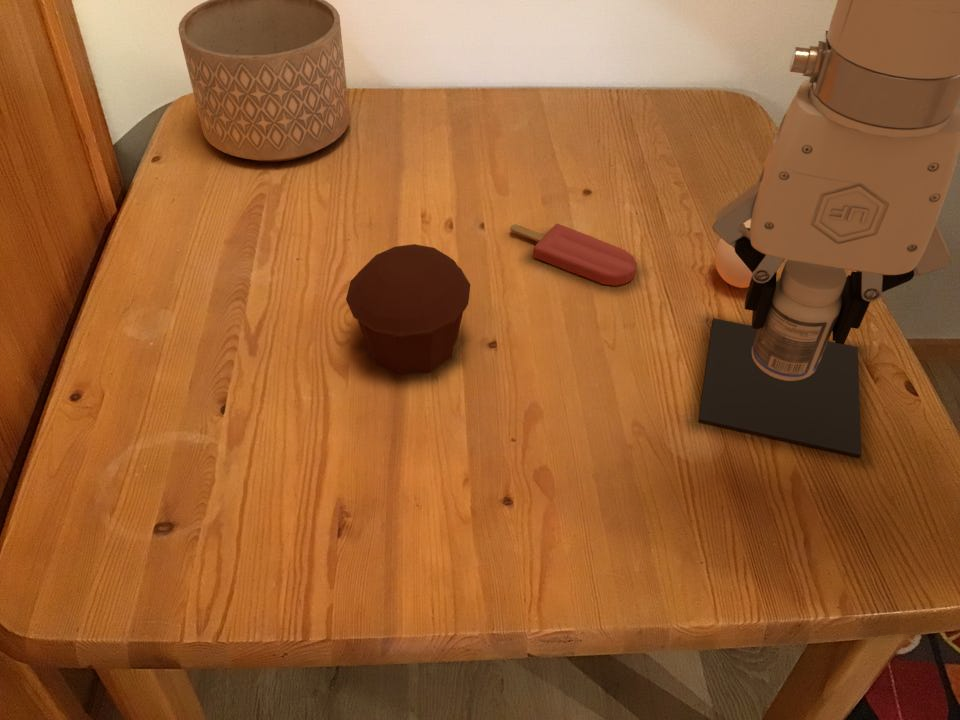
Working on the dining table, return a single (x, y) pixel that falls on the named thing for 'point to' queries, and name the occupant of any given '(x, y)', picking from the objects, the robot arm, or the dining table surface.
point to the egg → (732, 264)
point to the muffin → (409, 307)
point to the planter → (267, 76)
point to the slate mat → (782, 394)
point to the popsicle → (581, 254)
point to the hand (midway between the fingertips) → (797, 321)
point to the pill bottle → (799, 320)
